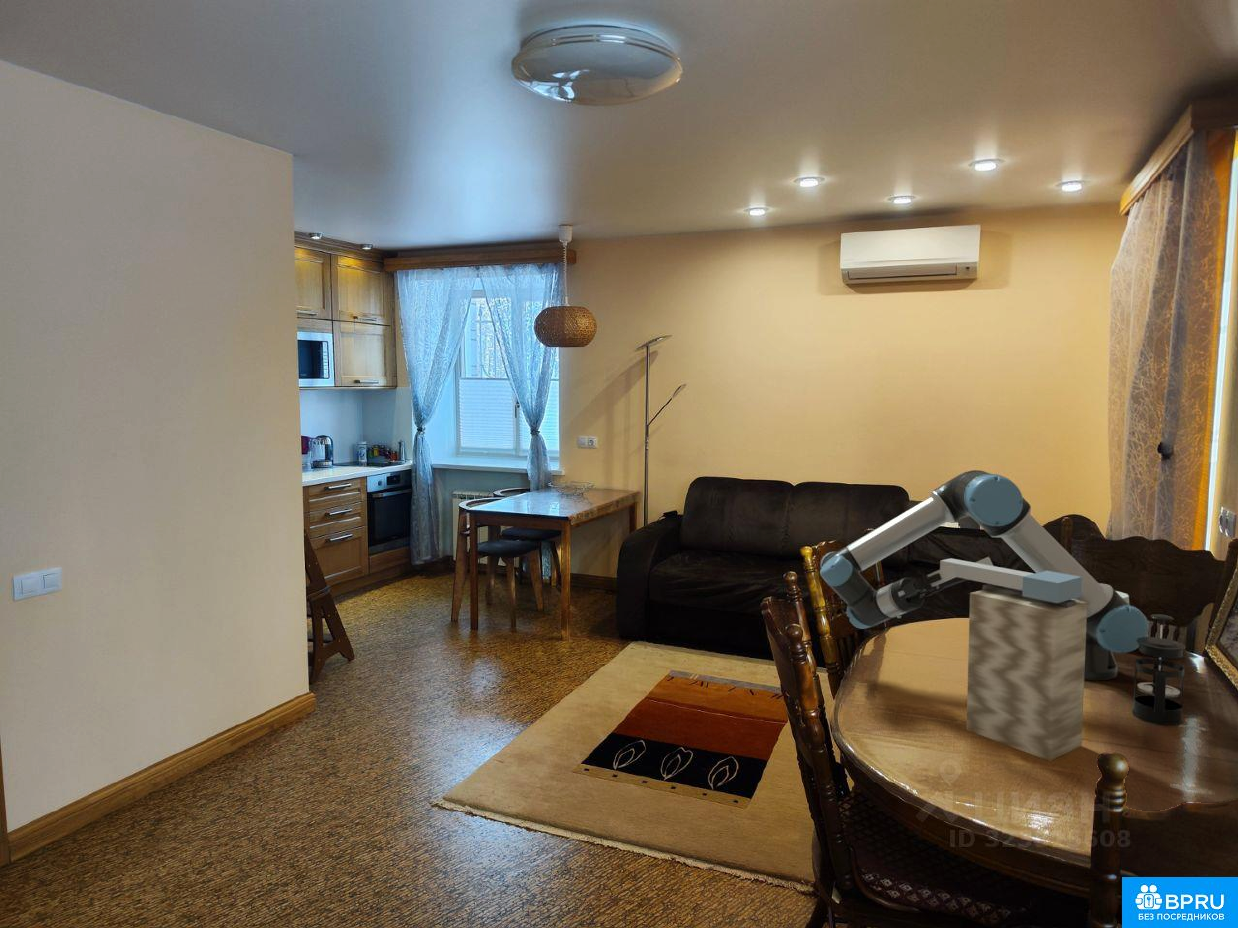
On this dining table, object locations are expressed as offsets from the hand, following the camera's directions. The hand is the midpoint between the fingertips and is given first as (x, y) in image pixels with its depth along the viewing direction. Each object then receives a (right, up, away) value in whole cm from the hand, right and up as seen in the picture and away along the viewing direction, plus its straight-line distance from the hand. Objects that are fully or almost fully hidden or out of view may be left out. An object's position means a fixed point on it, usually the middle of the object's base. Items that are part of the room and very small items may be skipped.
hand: (972, 566), depth 175 cm
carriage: (+4, -4, -5) cm, 8 cm away
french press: (+42, -34, +2) cm, 54 cm away
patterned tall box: (+7, -35, -7) cm, 37 cm away
